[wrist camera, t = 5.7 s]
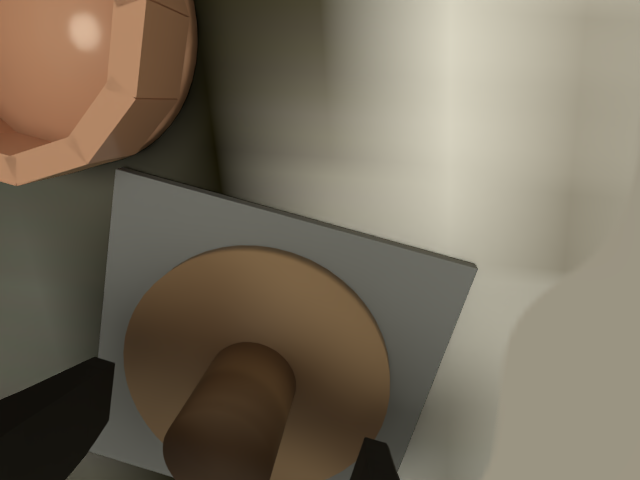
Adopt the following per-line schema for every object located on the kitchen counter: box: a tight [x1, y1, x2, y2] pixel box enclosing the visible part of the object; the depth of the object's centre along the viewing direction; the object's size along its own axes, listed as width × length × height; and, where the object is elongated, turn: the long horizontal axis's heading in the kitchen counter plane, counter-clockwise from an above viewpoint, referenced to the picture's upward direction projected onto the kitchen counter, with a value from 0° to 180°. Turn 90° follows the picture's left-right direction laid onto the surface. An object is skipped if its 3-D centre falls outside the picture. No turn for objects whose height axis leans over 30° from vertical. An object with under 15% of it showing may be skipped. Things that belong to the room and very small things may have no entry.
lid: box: [123, 245, 390, 480], centre depth 13 cm, size 9×9×4 cm
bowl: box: [0, 0, 198, 186], centre depth 11 cm, size 8×8×3 cm
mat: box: [89, 167, 478, 480], centre depth 15 cm, size 11×11×1 cm
